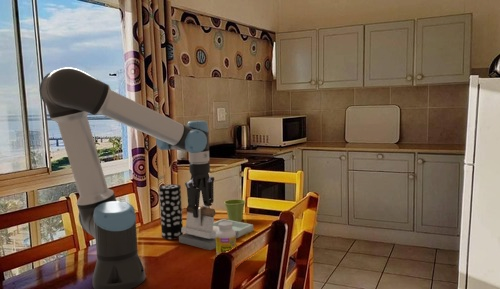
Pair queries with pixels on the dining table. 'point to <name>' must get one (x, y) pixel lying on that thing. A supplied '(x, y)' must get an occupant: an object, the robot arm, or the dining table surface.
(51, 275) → the dining table surface
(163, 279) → the dining table surface
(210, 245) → the board
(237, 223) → the tray
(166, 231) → the spotted tube
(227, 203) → the plant pot
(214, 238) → the tile right
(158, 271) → the dining table surface
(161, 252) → the dining table surface
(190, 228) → the scraper
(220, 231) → the supplement bottle
